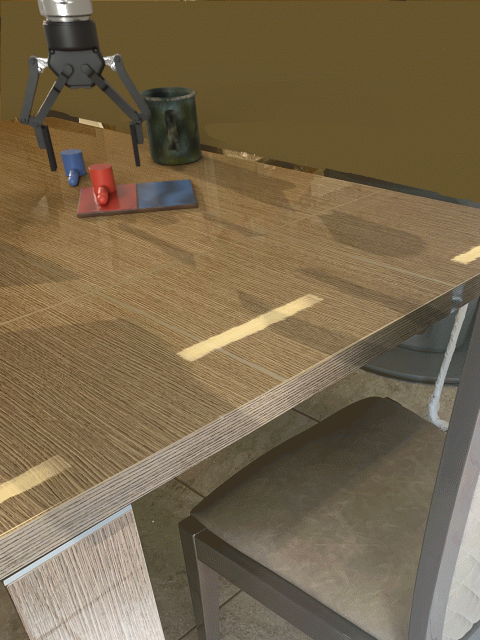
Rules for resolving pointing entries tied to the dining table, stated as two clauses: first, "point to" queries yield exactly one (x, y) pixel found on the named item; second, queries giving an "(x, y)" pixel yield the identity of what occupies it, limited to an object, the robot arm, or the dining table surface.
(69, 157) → the blue knobbed cylinder
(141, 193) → the sorting board
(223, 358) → the dining table surface
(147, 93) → the mug
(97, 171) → the red cylinder with knob
